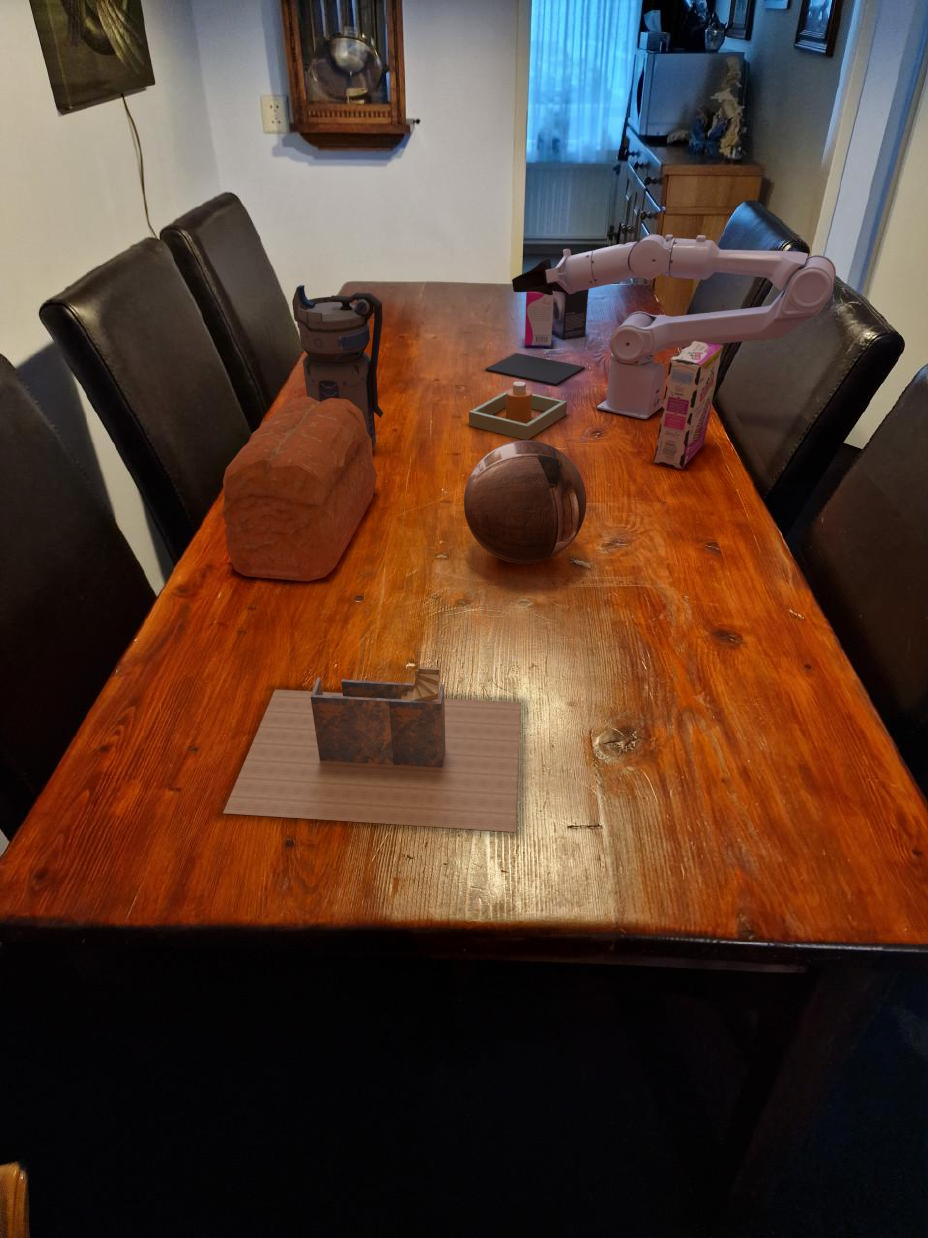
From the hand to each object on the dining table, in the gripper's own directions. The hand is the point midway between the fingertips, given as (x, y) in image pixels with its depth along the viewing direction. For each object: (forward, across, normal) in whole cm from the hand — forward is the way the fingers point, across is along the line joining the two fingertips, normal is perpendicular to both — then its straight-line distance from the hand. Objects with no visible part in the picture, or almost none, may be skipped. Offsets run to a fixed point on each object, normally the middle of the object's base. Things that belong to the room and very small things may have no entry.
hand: (521, 285), depth 142 cm
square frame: (+1, +9, +22) cm, 24 cm away
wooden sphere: (-14, +50, +35) cm, 63 cm away
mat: (+6, -17, +15) cm, 23 cm away
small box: (+9, -43, +9) cm, 45 cm away
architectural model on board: (-14, +88, +43) cm, 99 cm away
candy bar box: (-27, +11, +31) cm, 42 cm away
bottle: (+1, +9, +22) cm, 24 cm away
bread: (+13, +56, +28) cm, 64 cm away
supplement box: (+11, -33, +10) cm, 36 cm away
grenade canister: (+21, +32, +21) cm, 43 cm away
